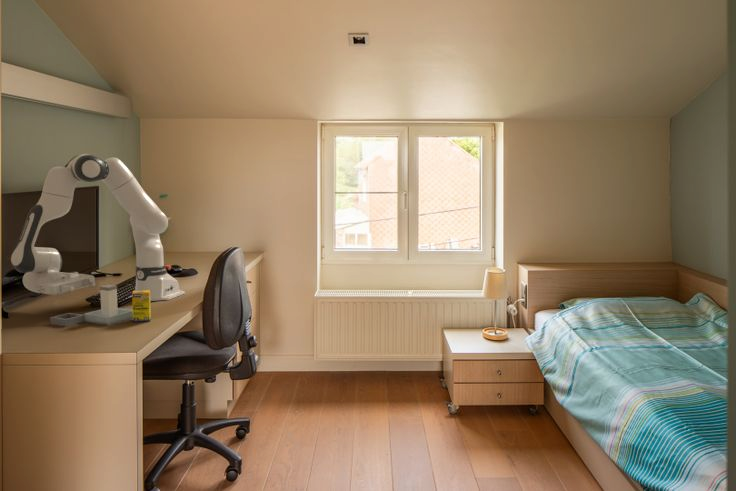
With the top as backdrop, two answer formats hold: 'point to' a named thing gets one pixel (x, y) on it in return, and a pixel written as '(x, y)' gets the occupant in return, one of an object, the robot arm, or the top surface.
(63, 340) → the top surface
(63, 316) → the socket
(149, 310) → the supplement box
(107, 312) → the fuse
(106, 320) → the tray
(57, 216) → the robot arm
